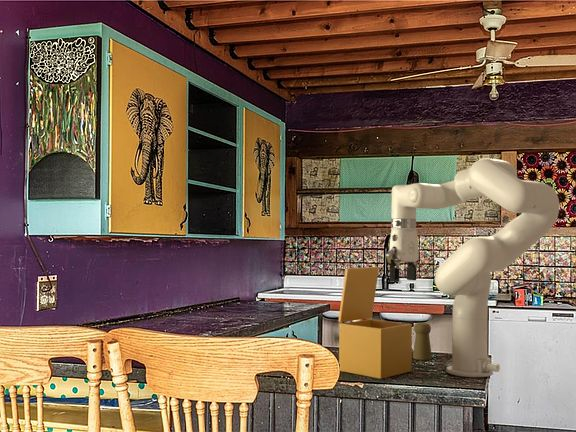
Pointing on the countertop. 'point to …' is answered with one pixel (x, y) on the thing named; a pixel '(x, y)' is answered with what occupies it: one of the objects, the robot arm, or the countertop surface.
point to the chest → (375, 348)
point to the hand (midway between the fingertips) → (403, 280)
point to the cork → (422, 342)
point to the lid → (358, 293)
